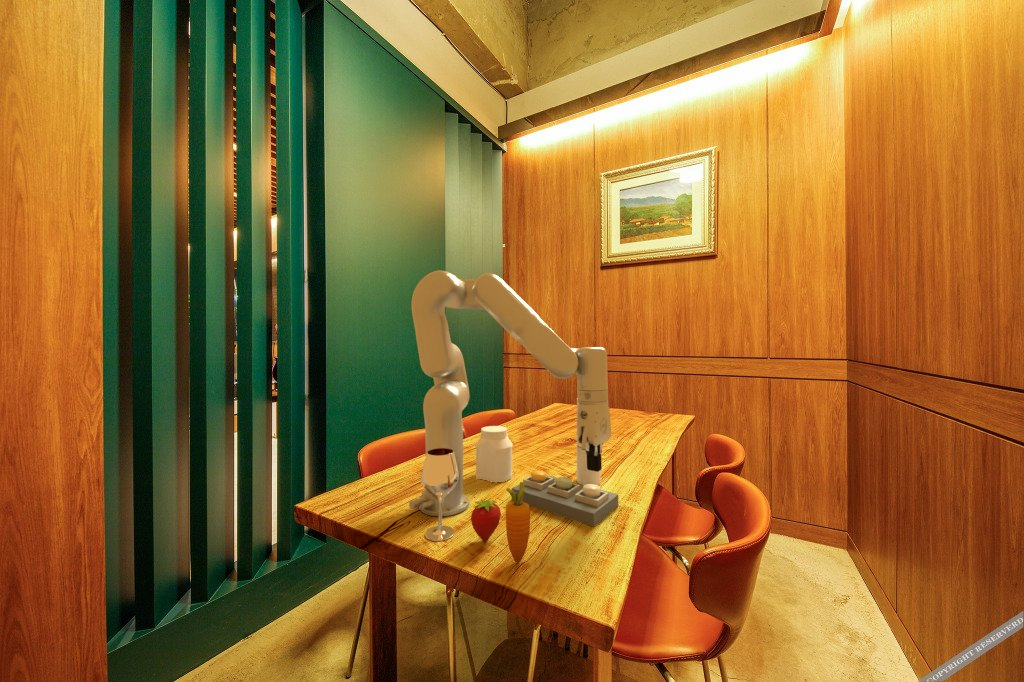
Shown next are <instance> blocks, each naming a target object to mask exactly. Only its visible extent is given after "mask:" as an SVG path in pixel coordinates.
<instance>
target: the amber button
mask: <svg viewBox="0 0 1024 682" xmlns="http://www.w3.org/2000/svg"><path fill="white" fill-rule="evenodd" d="M546 475H547V472H546V471H544V470H533V471H532V472H530V476H531V480H533V481H536V482H543V481H545V480H546Z"/></svg>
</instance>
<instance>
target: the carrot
mask: <svg viewBox="0 0 1024 682" xmlns="http://www.w3.org/2000/svg"><path fill="white" fill-rule="evenodd" d="M519 484H520V486H519V494H518V498H517V493H514V491H513V490H512V489H511V488H509V487H506V491H507V493H509V495H510V497H511V499H512V498H513V500H512V501H511V502H508V503H507V504H506V506H505V528H506V529H505V530H506V538H507V544H508V549H509V551H510V555H511V556H512V559H513V560H514V562H515V563H516V564H520V563H521V562H522V560H523V559H524V556H525V553H526V551H527V548H528V545H529V544H528V542H529V538H530V530H531V509H530V507H531V506H530V505H528V504H527V503H525V502H523V501H522V498H523V494H524V492H525V489H524V483H523V481H520V482H519Z"/></svg>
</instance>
